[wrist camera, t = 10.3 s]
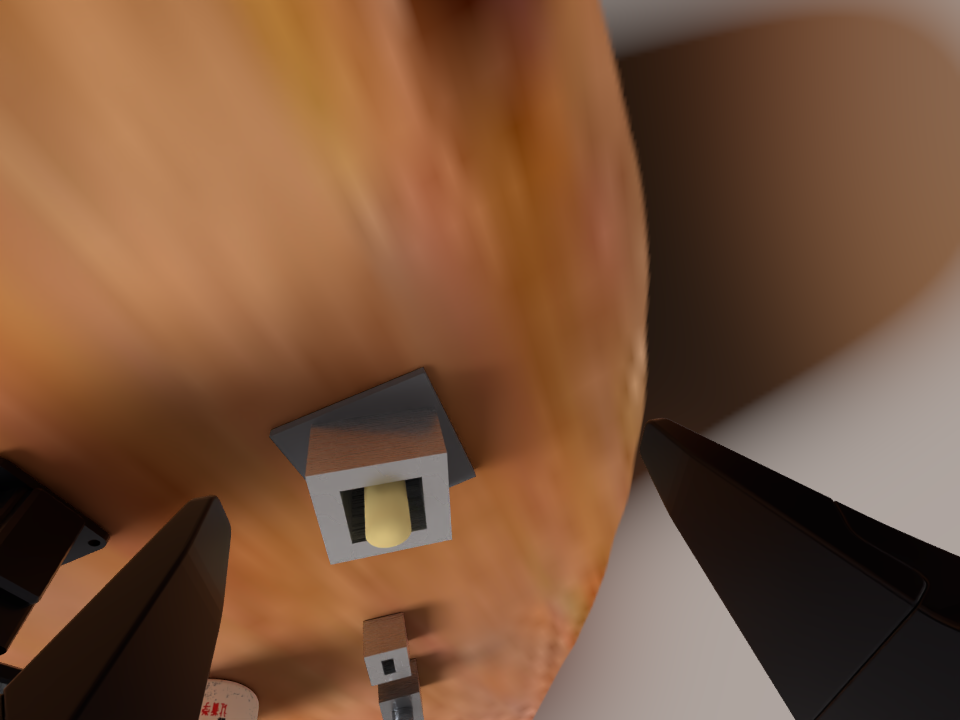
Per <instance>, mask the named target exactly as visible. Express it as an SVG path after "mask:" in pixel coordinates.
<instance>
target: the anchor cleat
mask: <svg viewBox="0 0 960 720" xmlns="http://www.w3.org/2000/svg"><path fill="white" fill-rule="evenodd" d="M410 666H411V676H408V677H404V678H401V679H397V680H393V681H389V682H385V683H382V684H378V694H379V705H380V709H381V713H382V716H383V720H424V716H423V707H422V698H421V690H420V683H419V676H418V670H417V664H416V659H412V660H410Z"/></svg>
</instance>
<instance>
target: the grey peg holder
mask: <svg viewBox="0 0 960 720" xmlns="http://www.w3.org/2000/svg"><path fill="white" fill-rule="evenodd" d="M429 406H435V408H436V412H437V416H438V420H439V424H440V428H441V432H442V435H443V439H444V443H445V447H446V451H447V463H448V480H449V487H452V486H454V485H457V484H459V483H461V482H464V481H466V480H468V479H471V478H473V477H476V475H475V472H474V469H473V467H472V465H471V463H470V461H469V459H468V457H467V455H466V453H465V451H464V449H463V447H462V445H461V443H460V441H459V439H458V437H457V435H456V433H455V431H454V428H453V426H452V424H451V422H450V420H449V418H448V416H447V414H446V412H445V410H444V408H443V406H442V404H441V402H440V400H439V398H438V396H437V394H436V392H435V390H434V388H433V386H432V384H431V382H430V380H429V378H428V376H427V374H426V372H425V370H424V368H423V367H422V368H420V369H417V370H415V371H413V372H410V373H408V374H405V375H403V376H401V377H398V378H396V379H393V380H391V381H389V382H386V383H384V384H381V385H379V386H376V387H374V388H372V389H369V390H367V391H364V392H362V393H360V394H357V395H355V396H352V397H350V398H347V399H345V400H343V401H340V402H338V403H335V404H333V405H331V406H328V407H326V408H323V409H321V410H318V411H316V412H314V413H311V414H309V415H306V416H304V417H302V418H299V419H297V420H294V421H292V422H290V423H287V424H285V425H282V426H280V427H277V428H275V429H273V430H271V432H270V436H269V437H270V438H271V440H272V441H273V442H274V443H275V444H276V446H277V447H278V448H279V449H280V450H281V451H282V453H283V454H284V455H285V456H286V457H287V459H288V460H289V461H290V462H291V463H292V465H293V466H294V467H295V468H296V469H297V471H298V472H299V473H300V474H301V475H302V476H303V478H304V479H305V480H306V478H305V473H306V464H307V456H308V447H309V439H310V430H311V424H315V423H321V422H328V421H335V420H342V419H348V418H355V417H362V416H369V415H375V414H382V413H389V412H396V411H402V410H409V409H416V408H423V407H429ZM364 501H365V535H366V540H367V541H368V542H369V543H370V544H371V545H373V546H375V547H379V548H389V547H394V546H397V545H399V544H401V543H403V542H404V541H406V540H407V539H408V537H409V536H410V534H411V530H412V529H411V521H410V514H409V506H408V499H407V491H406V483H405V480H401V481H396V482H390V483H384V484H379V485H373V486H368V487H364Z"/></svg>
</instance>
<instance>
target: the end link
mask: <svg viewBox="0 0 960 720" xmlns="http://www.w3.org/2000/svg"><path fill="white" fill-rule="evenodd" d="M305 478H306V482H307V485H308V489H309V492H310V496H311V499H312V502H313V506H314V509H315V513H316V516H317V520H318V523H319V526H320V530H321V533H322V537H323V540H324V544H325V547H326V550H327V554H328V557H329V561H330V564H336V563H341V562H346V561H351V560H355V559H360V558H365V557H370V556H375V555H379V554H384V553H389V552H394V551H399V550H403V549H408V548H413V547H418V546H423V545H427V544H432V543H437V542H442V541H447V540H451V539H452V532H451V515H450V498H449V480H448V463H447V451H446V447H445V443H444V439H443V435H442V432H441V428H440V424H439V420H438V416H437V412H436V408H435V406H429V407H423V408H416V409H409V410H402V411H396V412H389V413H382V414H375V415H369V416H362V417H355V418H348V419H342V420H335V421H328V422H321V423H315V424H311V430H310V439H309V447H308V456H307V464H306V473H305ZM401 480H405V483H406V491H407V499H408V506H409V514H410V521H411V529H412V530H411V534H410V536H409V537H408V539H407V540H406V541H404V542H403V543H401V544H399V545H397V546H394V547H389V548H379V547H375V546H373V545H371V544H370V543H369V542H368V541H367V540H366V535H365V501H364V487H368V486H373V485H379V484H384V483H390V482H396V481H401Z"/></svg>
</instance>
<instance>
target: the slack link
mask: <svg viewBox="0 0 960 720" xmlns="http://www.w3.org/2000/svg"><path fill="white" fill-rule="evenodd" d="M363 638H364V660H365V663H366V667H367V671H368V674H369V678H370V681H371V685H372V686H374V685H378V684H382V683H385V682H389V681H393V680H397V679H401V678H404V677H408V676H411V666H410V656H409V646H408V638H407V632H406V626H405V620H404V614H403V612H402V613H398V614H393V615H389V616H385V617H381V618H376V619H372V620H368V621H364V622H363Z"/></svg>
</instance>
